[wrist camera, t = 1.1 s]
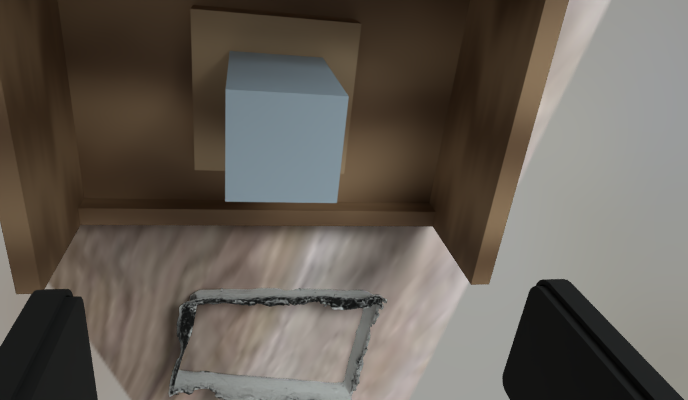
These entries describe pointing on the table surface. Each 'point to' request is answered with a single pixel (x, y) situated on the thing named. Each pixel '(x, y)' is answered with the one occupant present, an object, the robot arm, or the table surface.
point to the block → (283, 129)
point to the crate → (209, 115)
